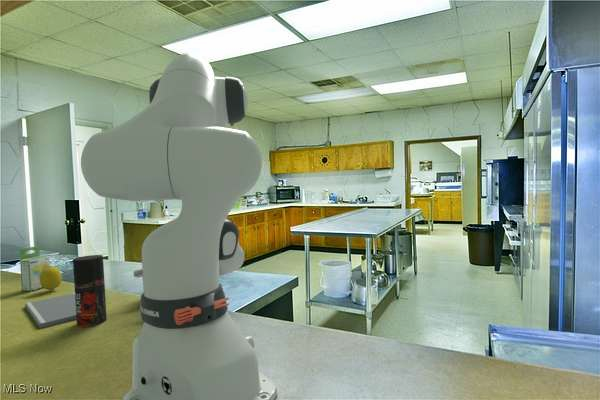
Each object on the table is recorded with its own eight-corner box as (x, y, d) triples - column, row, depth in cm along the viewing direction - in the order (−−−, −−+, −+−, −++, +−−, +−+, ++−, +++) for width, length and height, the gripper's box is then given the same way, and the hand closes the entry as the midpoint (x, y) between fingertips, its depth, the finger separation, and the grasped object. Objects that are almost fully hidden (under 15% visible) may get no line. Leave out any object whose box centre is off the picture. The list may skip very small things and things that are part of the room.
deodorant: (112, 316, 82) (108, 254, 81) (95, 327, 76) (91, 260, 76) (89, 316, 83) (85, 255, 82) (70, 327, 77) (66, 260, 76)
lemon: (43, 290, 108) (41, 265, 108) (64, 287, 110) (62, 262, 110) (38, 295, 103) (36, 268, 103) (60, 292, 105) (58, 266, 105)
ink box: (31, 292, 107) (28, 249, 106) (21, 291, 107) (18, 249, 107) (52, 285, 113) (49, 245, 113) (42, 285, 114) (39, 245, 114)
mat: (100, 313, 85) (99, 308, 85) (40, 328, 76) (39, 323, 76) (77, 295, 100) (77, 292, 100) (25, 307, 92) (24, 303, 92)
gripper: (174, 251, 104) (126, 260, 94) (209, 259, 90) (157, 270, 80) (175, 272, 104) (127, 282, 95) (211, 283, 90) (158, 297, 80)
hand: (141, 277), depth 87 cm, fingers open, 8 cm apart
